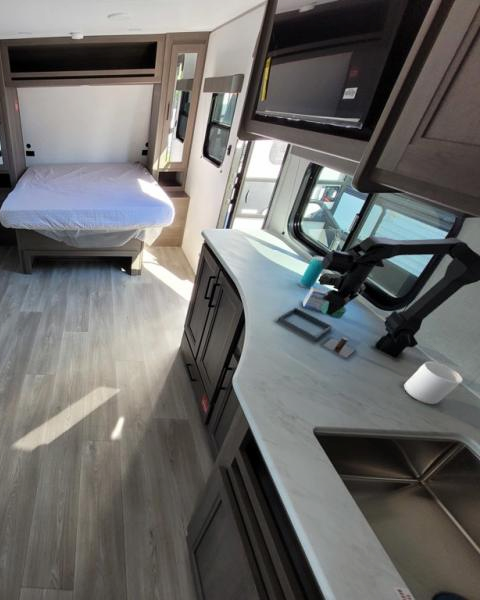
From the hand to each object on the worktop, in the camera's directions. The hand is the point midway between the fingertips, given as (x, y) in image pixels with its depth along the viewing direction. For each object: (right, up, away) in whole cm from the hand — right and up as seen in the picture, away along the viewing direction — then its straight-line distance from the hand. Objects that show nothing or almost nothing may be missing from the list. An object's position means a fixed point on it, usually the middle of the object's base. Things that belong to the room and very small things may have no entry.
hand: (332, 311), depth 111 cm
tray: (-3, -6, +11) cm, 13 cm away
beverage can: (+18, +11, +38) cm, 43 cm away
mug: (+16, -25, -13) cm, 33 cm away
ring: (0, -1, 0) cm, 1 cm away
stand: (+3, -14, +1) cm, 14 cm away
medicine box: (+10, +1, +22) cm, 24 cm away
